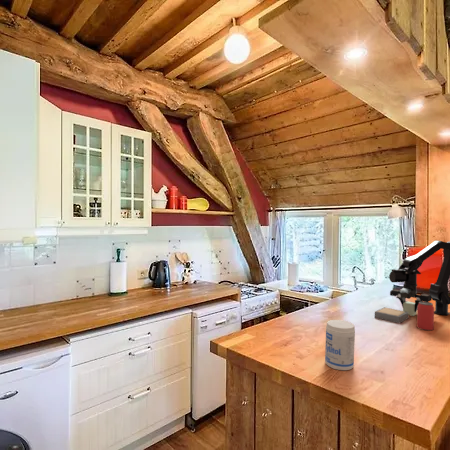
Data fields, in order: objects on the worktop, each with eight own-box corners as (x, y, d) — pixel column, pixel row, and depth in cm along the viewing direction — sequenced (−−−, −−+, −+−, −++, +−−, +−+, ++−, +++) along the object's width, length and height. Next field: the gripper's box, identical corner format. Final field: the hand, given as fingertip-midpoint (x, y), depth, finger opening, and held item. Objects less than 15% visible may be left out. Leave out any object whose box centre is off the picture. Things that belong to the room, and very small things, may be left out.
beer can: (436, 331, 149) (436, 305, 148) (420, 330, 150) (420, 304, 150) (430, 326, 155) (430, 301, 155) (414, 325, 156) (415, 300, 156)
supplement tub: (320, 365, 114) (321, 324, 114) (331, 356, 121) (331, 317, 121) (348, 374, 108) (349, 330, 107) (358, 364, 115) (358, 323, 115)
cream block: (406, 312, 178) (406, 301, 178) (416, 314, 175) (416, 303, 174) (403, 313, 175) (403, 302, 175) (413, 316, 171) (413, 304, 171)
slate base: (384, 312, 177) (384, 307, 177) (408, 318, 168) (408, 311, 168) (374, 317, 169) (374, 311, 169) (399, 323, 160) (399, 316, 160)
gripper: (386, 281, 176) (385, 310, 176) (425, 287, 162) (424, 318, 162) (394, 278, 183) (393, 306, 184) (432, 284, 169) (431, 314, 170)
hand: (409, 311), depth 175 cm, fingers closed on cream block, 5 cm apart
